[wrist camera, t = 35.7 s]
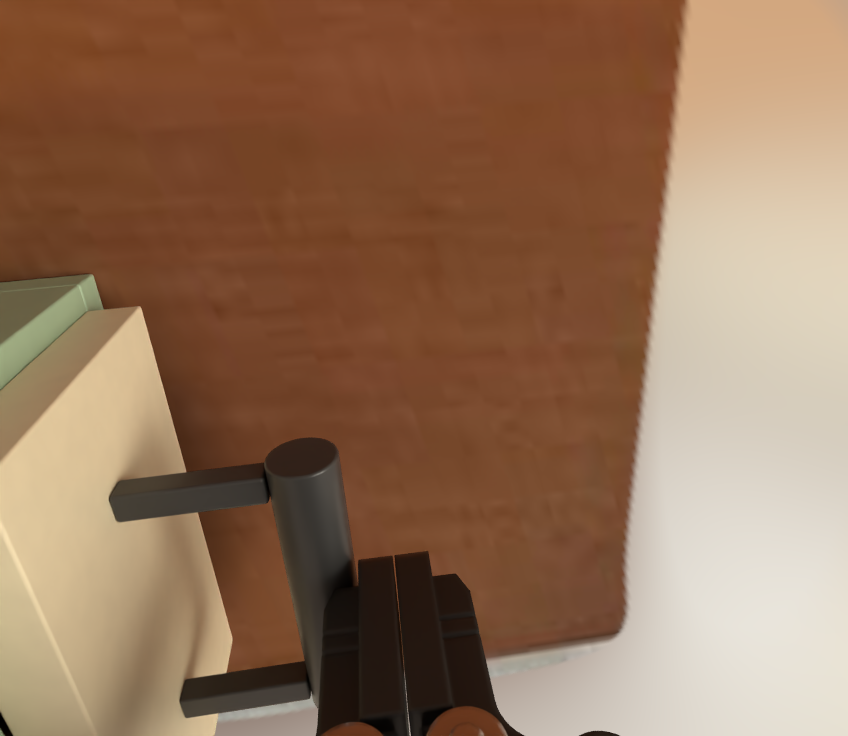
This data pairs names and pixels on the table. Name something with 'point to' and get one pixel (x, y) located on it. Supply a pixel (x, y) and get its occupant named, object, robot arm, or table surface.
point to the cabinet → (39, 318)
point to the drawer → (139, 549)
